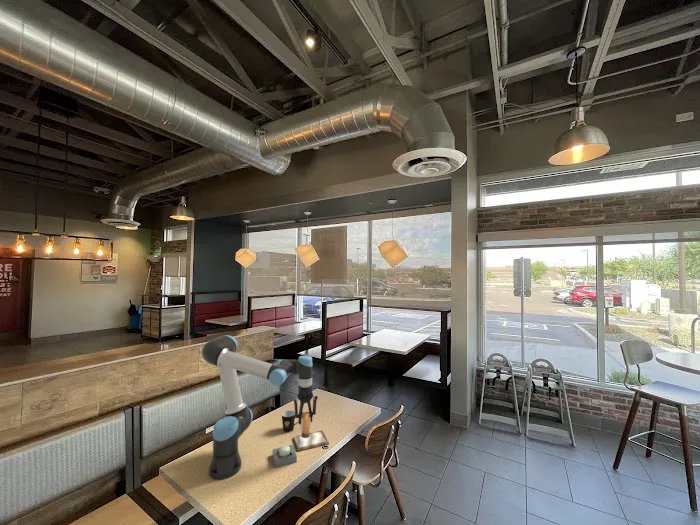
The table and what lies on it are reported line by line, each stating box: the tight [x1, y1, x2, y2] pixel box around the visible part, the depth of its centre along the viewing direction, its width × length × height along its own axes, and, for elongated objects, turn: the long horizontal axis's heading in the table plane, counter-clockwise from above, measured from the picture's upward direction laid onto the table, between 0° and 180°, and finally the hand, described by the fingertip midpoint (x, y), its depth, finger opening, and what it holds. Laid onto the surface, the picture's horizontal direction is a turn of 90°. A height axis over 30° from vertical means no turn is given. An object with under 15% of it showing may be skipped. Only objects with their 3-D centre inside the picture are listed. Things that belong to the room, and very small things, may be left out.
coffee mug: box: [281, 409, 299, 433], centre depth 182 cm, size 12×9×10 cm
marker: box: [301, 411, 310, 438], centre depth 156 cm, size 4×4×12 cm
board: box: [293, 430, 330, 452], centre depth 169 cm, size 18×14×2 cm
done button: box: [278, 445, 290, 458], centre depth 154 cm, size 6×6×3 cm
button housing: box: [272, 444, 298, 468], centre depth 154 cm, size 11×11×3 cm
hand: (305, 428), depth 156 cm, fingers closed on marker, 3 cm apart
